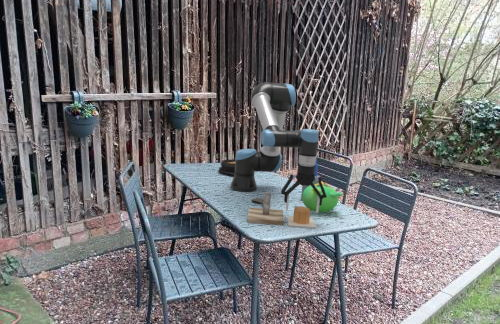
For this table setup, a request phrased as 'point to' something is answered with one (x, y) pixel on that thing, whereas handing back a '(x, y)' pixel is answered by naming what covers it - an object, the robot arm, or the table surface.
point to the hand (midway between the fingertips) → (301, 210)
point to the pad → (293, 224)
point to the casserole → (228, 167)
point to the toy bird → (327, 203)
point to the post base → (265, 218)
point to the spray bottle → (313, 181)
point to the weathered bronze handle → (258, 200)
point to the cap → (301, 215)
